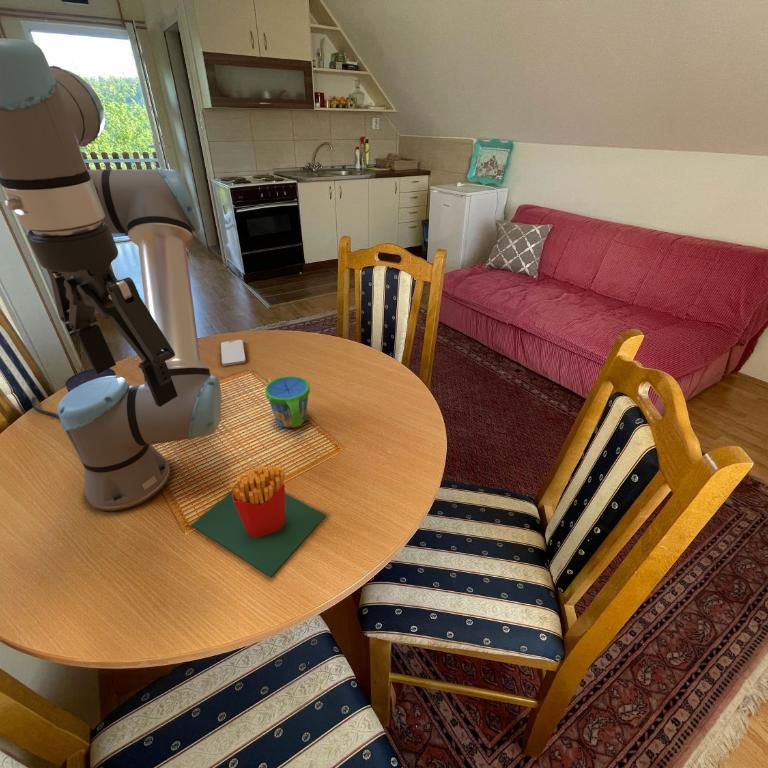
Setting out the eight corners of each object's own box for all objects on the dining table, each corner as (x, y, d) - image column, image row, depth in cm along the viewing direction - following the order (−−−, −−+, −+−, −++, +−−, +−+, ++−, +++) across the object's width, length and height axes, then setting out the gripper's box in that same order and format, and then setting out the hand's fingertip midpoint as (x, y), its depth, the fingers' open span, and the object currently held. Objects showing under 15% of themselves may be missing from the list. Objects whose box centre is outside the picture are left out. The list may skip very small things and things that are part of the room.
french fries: (244, 542, 74) (231, 491, 67) (240, 524, 77) (227, 474, 70) (294, 524, 78) (286, 474, 71) (288, 508, 81) (280, 458, 74)
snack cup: (317, 435, 100) (314, 401, 95) (272, 443, 98) (267, 408, 92) (307, 400, 113) (304, 368, 107) (268, 406, 110) (262, 373, 105)
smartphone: (221, 364, 127) (220, 342, 139) (222, 367, 128) (220, 345, 139) (246, 360, 129) (242, 339, 141) (246, 363, 130) (243, 342, 142)
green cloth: (191, 525, 77) (191, 524, 77) (251, 476, 88) (251, 475, 88) (270, 577, 69) (270, 576, 69) (326, 515, 80) (325, 514, 80)
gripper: (-30, 214, 46) (56, 369, 59) (100, 259, 37) (170, 433, 49) (42, 201, 52) (107, 345, 64) (173, 237, 42) (219, 399, 55)
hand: (135, 384), depth 57 cm, fingers open, 13 cm apart
